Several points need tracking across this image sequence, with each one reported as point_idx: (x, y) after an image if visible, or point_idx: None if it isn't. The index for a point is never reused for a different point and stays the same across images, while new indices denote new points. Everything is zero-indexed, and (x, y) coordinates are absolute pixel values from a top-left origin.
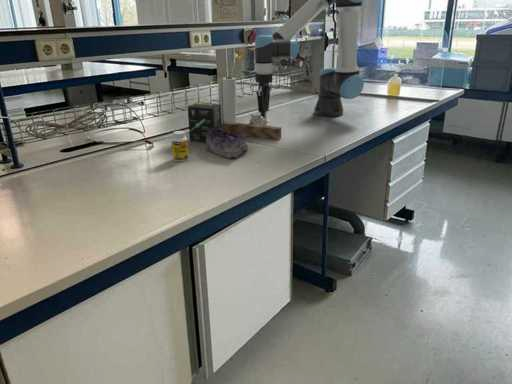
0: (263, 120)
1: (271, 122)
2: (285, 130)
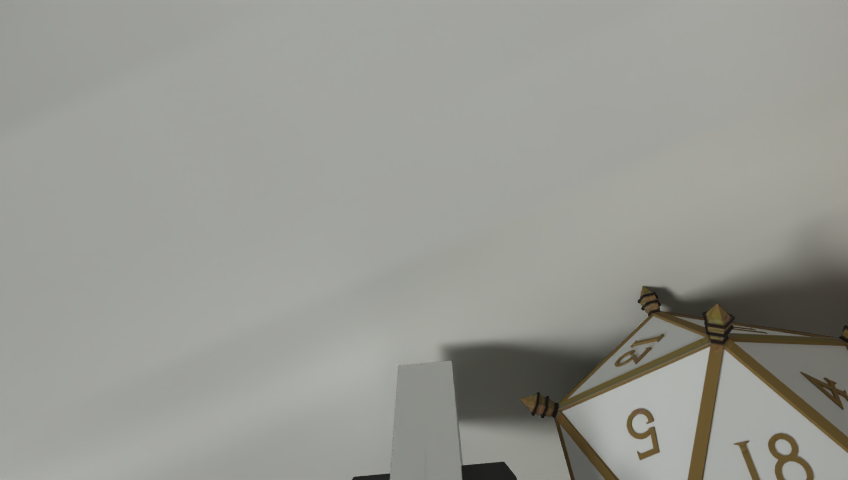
0: (802, 400)
1: (66, 414)
2: (389, 9)
